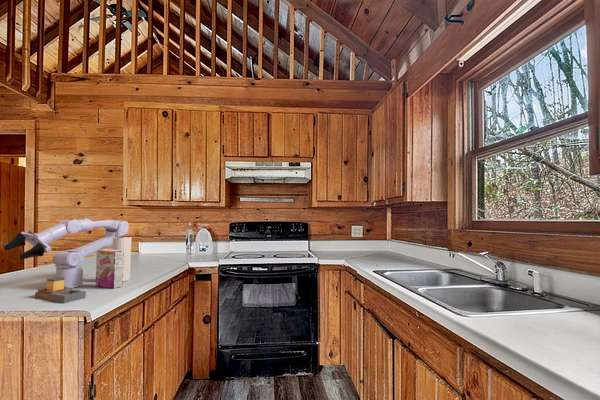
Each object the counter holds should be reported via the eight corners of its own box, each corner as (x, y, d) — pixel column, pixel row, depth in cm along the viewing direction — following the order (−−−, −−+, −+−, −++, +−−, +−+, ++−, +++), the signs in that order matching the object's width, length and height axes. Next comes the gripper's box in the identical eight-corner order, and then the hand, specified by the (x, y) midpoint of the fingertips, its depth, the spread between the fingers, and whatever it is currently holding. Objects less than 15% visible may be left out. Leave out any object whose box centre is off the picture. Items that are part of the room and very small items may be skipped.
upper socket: (59, 292, 134) (59, 285, 134) (74, 294, 131) (74, 287, 131) (34, 297, 126) (35, 290, 126) (50, 300, 123) (50, 292, 123)
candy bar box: (94, 286, 145) (96, 249, 146) (104, 284, 150) (106, 248, 150) (113, 289, 141) (115, 251, 142) (123, 286, 146) (124, 250, 147)
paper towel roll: (109, 283, 153) (111, 237, 154) (113, 280, 159) (115, 236, 159) (126, 282, 154) (128, 237, 155) (129, 279, 160) (131, 236, 161)
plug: (57, 289, 131) (57, 276, 131) (63, 290, 130) (64, 277, 130) (46, 291, 127) (47, 278, 127) (53, 292, 126) (53, 279, 126)
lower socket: (71, 295, 129) (71, 289, 129) (85, 297, 127) (85, 291, 127) (49, 300, 122) (50, 293, 122) (64, 303, 119) (64, 295, 119)
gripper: (34, 221, 135) (-3, 236, 123) (61, 236, 133) (26, 253, 121) (35, 234, 138) (-1, 250, 126) (62, 249, 136) (28, 267, 124)
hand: (12, 253), depth 124 cm, fingers open, 7 cm apart
